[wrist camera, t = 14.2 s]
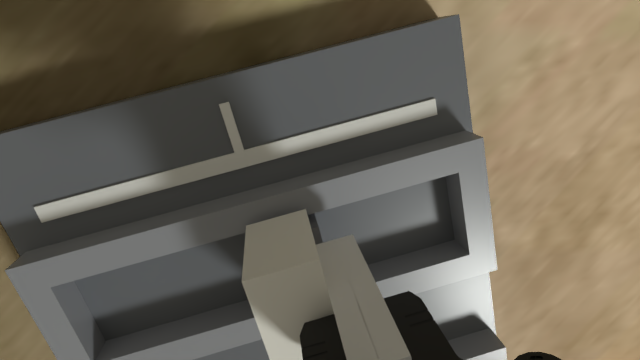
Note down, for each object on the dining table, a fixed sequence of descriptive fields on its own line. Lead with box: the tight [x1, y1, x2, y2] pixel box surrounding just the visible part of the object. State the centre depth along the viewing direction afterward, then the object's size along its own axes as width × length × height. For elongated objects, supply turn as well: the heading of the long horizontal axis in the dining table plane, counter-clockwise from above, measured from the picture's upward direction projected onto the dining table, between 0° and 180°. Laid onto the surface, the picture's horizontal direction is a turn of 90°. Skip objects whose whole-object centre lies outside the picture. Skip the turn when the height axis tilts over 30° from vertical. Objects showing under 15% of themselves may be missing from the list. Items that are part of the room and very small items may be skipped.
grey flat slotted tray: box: [0, 14, 507, 360], centre depth 21 cm, size 20×26×4 cm
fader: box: [242, 209, 334, 360], centre depth 16 cm, size 3×5×6 cm, turn 14°
